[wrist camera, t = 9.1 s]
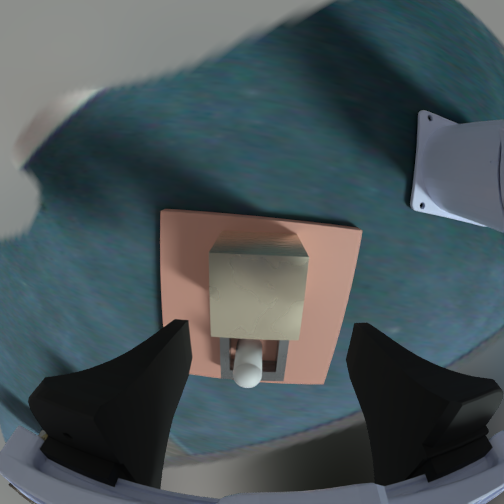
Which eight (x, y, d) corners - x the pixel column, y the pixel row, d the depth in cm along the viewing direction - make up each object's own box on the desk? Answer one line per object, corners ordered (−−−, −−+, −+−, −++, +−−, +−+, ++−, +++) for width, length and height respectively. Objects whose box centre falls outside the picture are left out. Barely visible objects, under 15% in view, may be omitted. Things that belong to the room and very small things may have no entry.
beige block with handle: (221, 230, 19) (208, 252, 14) (296, 234, 19) (309, 257, 14) (223, 366, 22) (215, 409, 17) (282, 369, 22) (286, 412, 17)
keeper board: (357, 227, 19) (389, 248, 14) (321, 377, 23) (332, 420, 18) (165, 208, 19) (133, 223, 14) (170, 363, 23) (152, 404, 18)
